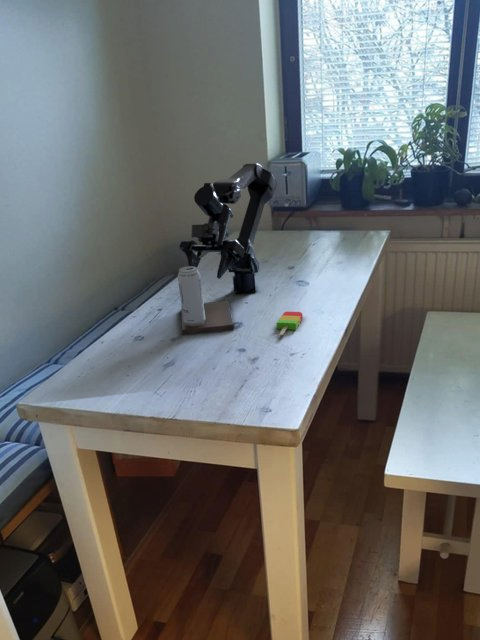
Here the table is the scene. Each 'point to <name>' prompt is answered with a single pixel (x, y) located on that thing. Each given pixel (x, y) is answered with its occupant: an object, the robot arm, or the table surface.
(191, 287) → the energy drink can
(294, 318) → the popsicle
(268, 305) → the table surface
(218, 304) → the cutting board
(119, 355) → the table surface
